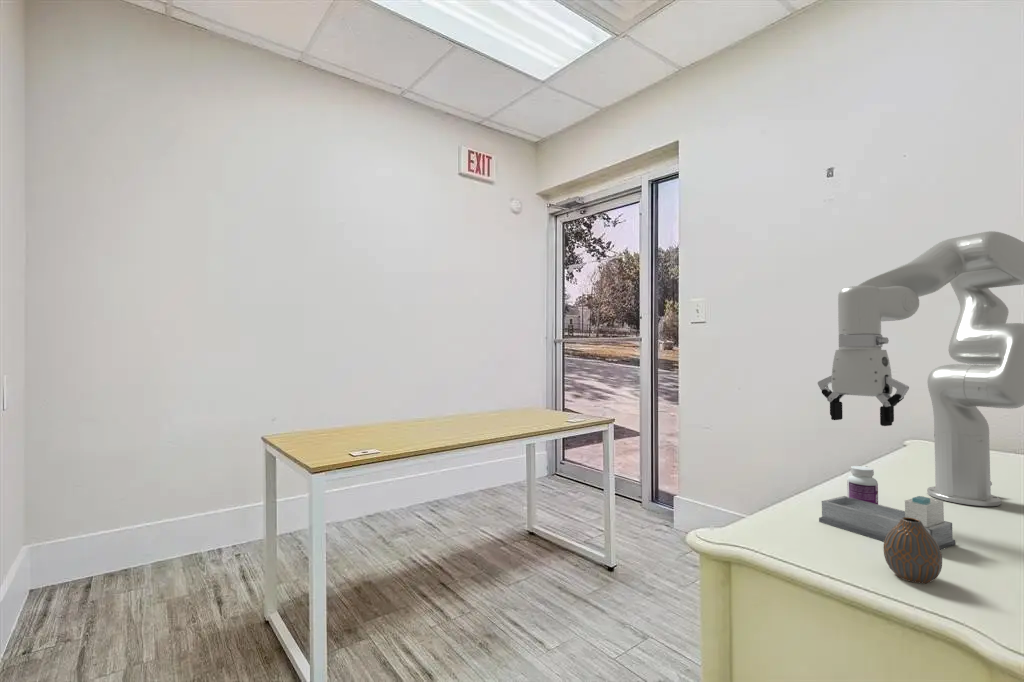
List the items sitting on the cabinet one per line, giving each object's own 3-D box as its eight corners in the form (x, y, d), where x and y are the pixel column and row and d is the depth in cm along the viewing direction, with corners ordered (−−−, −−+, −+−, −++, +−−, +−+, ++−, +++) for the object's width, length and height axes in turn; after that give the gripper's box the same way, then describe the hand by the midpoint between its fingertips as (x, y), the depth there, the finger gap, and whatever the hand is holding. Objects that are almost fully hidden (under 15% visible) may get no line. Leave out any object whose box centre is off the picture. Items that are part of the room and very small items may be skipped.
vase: (872, 568, 76) (871, 512, 76) (912, 566, 77) (911, 511, 77) (912, 589, 69) (911, 528, 69) (956, 587, 70) (954, 527, 70)
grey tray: (847, 514, 102) (846, 474, 102) (955, 544, 86) (954, 497, 86) (819, 521, 97) (818, 480, 97) (927, 554, 81) (926, 505, 81)
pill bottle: (884, 518, 99) (883, 471, 100) (855, 516, 100) (854, 470, 101) (870, 509, 105) (869, 465, 105) (843, 508, 106) (842, 464, 106)
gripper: (916, 343, 97) (917, 427, 97) (828, 344, 113) (829, 416, 112) (897, 342, 94) (898, 429, 94) (808, 343, 110) (809, 418, 109)
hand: (860, 422), depth 103 cm, fingers open, 9 cm apart
